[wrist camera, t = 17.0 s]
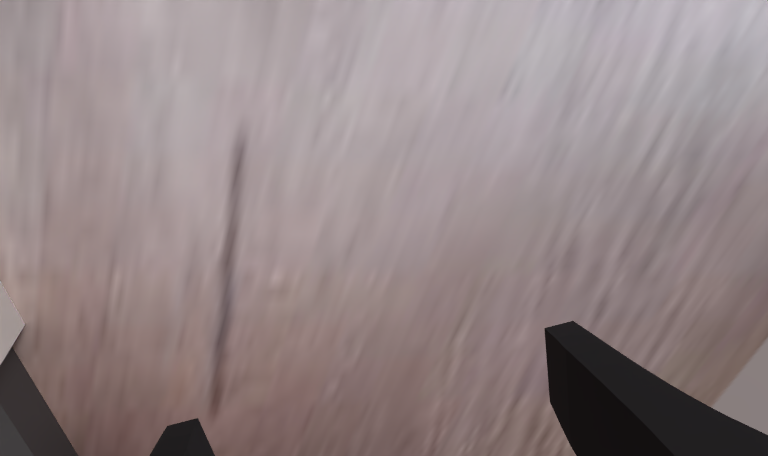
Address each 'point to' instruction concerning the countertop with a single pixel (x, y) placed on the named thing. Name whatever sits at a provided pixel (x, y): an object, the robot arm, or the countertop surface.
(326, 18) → the countertop surface
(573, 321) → the robot arm
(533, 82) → the countertop surface
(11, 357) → the plug
